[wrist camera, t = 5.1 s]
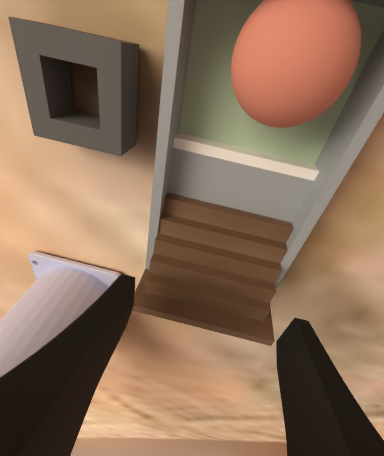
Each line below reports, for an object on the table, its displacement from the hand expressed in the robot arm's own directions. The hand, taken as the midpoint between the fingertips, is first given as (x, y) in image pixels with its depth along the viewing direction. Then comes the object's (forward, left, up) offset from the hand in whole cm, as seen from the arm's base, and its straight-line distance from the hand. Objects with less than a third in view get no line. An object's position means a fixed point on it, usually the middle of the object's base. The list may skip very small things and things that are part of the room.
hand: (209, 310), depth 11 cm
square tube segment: (+7, +8, -6) cm, 12 cm away
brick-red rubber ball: (+9, 0, -4) cm, 10 cm away
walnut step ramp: (0, 0, -6) cm, 6 cm away
